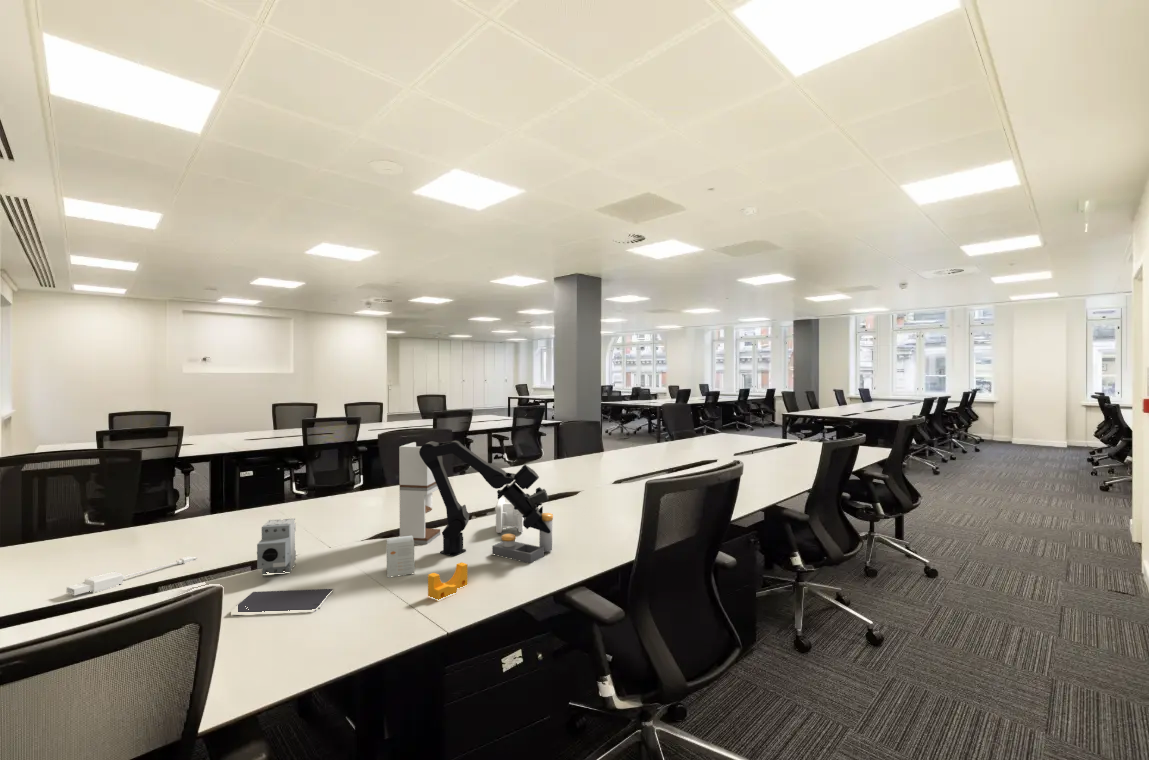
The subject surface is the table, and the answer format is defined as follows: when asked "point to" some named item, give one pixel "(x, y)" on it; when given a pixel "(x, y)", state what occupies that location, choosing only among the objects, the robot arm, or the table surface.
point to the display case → (415, 495)
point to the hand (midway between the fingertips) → (549, 530)
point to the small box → (400, 556)
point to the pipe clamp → (449, 587)
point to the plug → (545, 537)
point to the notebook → (283, 600)
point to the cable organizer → (507, 516)
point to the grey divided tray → (517, 549)
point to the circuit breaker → (277, 546)
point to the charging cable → (112, 579)
